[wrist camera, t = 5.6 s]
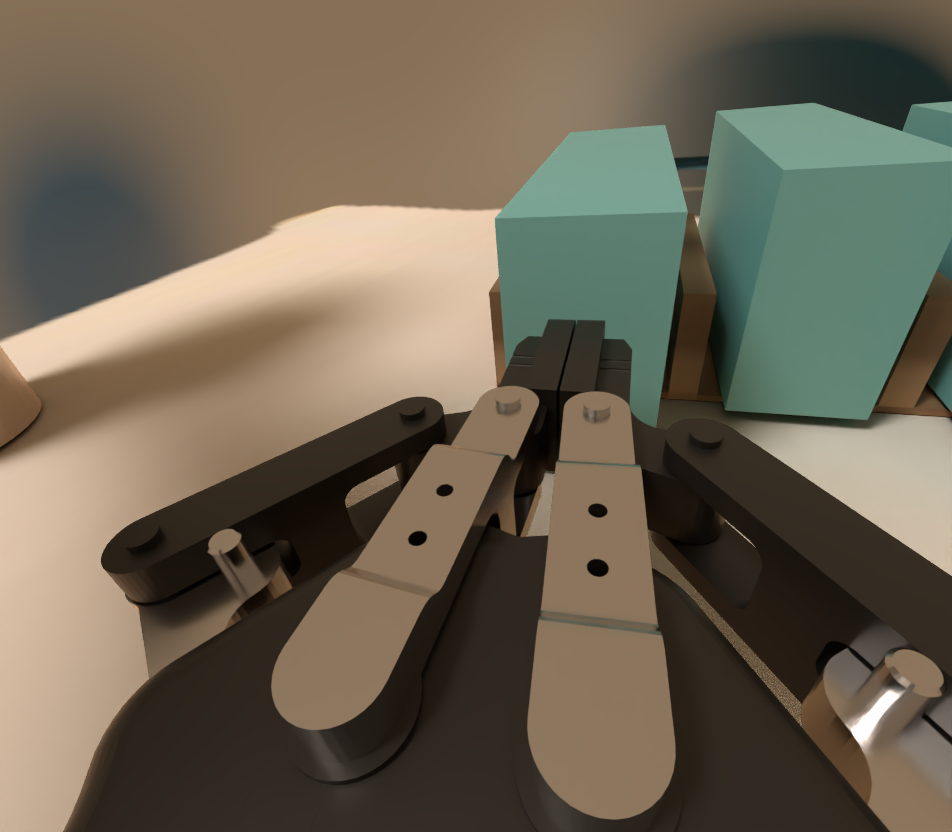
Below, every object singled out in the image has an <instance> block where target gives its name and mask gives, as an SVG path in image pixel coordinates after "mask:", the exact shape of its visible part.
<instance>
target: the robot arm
mask: <svg viewBox="0 0 952 832" xmlns="http://www.w3.org/2000/svg"><path fill="white" fill-rule="evenodd" d="M631 362H632V348H631V347H630V346H629V345H628V343H627V342H626V341H625V340H624V339H605V321H604V320H577V324H576V320H562V319H548V321H547V324H546V327H545V330H544V332H543V335H542V337H540V336H528V337H526V338H525V339H524V340H523V341H521V342H520V343H519V344H517V346H516V348H515V350H514V353H513V356H512V357H511V360H510V362H509V365H508V366H507V369H506V371H505V373H504V376H503V378H502V380H501V382H500V385H499V387H498V388H495V389H492V390H490V391H488V392H486V393H485V394H483V395H482V396H481V398H480V399H479V400H478V402H477V404H476V405H475V407H474V409H473V410H472V411H468V412H462V413H454V414H446V415H444V412H443V407H442V405H441V404H440V403H439V402H438V401H436V400H434V399H432V398H428V397H412V398H407V399H403V400H401V401H398V402H396V403H394V404H392V405H389V406H387V407H385V408H383V409H381V410H378V411H376V412H374V413H372V414H370V415H367V416H365V417H363V418H361V419H359V420H356V421H354V422H352V423H350V424H348V425H345V426H343V427H341V428H339V429H337V430H334V431H332V432H330V433H328V434H326V435H323V436H321V437H319V438H317V439H315V440H312V441H310V442H308V443H306V444H304V445H301V446H299V447H297V448H295V449H293V450H291V451H288V452H286V453H284V454H282V455H280V456H277V457H275V458H273V459H271V460H269V461H266V462H264V463H262V464H260V465H258V466H255V467H253V468H251V469H249V470H247V471H244V472H242V473H240V474H238V475H236V476H233V477H231V478H229V479H227V480H225V481H222V482H220V483H218V484H216V485H214V486H211V487H209V488H207V489H205V490H203V491H200V492H198V493H196V494H194V495H192V496H189V497H187V498H185V499H183V500H181V501H178V502H176V503H174V504H172V505H170V506H167V507H165V508H163V509H161V510H159V511H156V512H154V513H152V514H150V515H148V516H145V517H143V518H141V519H139V520H137V521H135V522H133V523H132V524H130V525H128V526H127V527H126V528H124V529H123V530H121V531H120V532H119V533H118V534H117V535H116V536H115V537H114V538H113V539H112V540H111V541H110V542H109V543H108V544H107V546H106V548H105V549H104V551H103V554H102V557H101V564H102V567H103V568H104V569H105V571H106V572H107V573H108V574H109V575H110V576H111V577H112V579H113V580H114V581H115V582H116V583H117V584H118V585H119V587H120V588H121V589H122V590H123V591H124V592H125V596H126V598H127V600H128V601H129V602H130V603H131V604H132V605H133V606H134V608H135V609H136V610H137V611H138V612H139V614H140V620H141V627H142V633H143V640H144V646H145V653H146V659H147V666H148V672H149V680H148V681H147V682H146V683H145V684H144V685H143V686H141V687H140V688H139V689H138V690H137V691H136V692H135V693H134V694H133V696H132V697H131V698H130V699H129V700H128V701H127V702H126V703H125V705H124V706H123V707H122V708H121V710H120V711H119V712H118V714H117V715H116V716H115V718H114V719H113V721H112V722H111V724H110V725H109V727H108V729H107V730H106V732H105V733H104V735H103V737H102V739H101V741H100V743H99V745H98V747H97V749H96V751H95V753H94V756H93V759H92V761H91V764H90V767H89V770H88V773H87V776H86V779H85V782H84V784H83V787H82V790H81V793H80V795H79V798H78V800H77V803H76V805H75V807H74V810H73V812H72V815H71V817H70V819H69V821H68V823H67V825H66V827H65V829H64V831H63V832H952V576H951V575H949V574H948V573H946V572H945V571H943V570H942V569H940V568H939V567H937V566H936V565H934V564H933V563H931V562H930V561H928V560H927V559H925V558H924V557H922V556H921V555H919V554H918V553H916V552H915V551H913V550H912V549H911V548H909V547H908V546H906V545H905V544H903V543H902V542H900V541H899V540H897V539H896V538H894V537H893V536H891V535H890V534H888V533H887V532H885V531H884V530H882V529H881V528H879V527H878V526H876V525H875V524H873V523H872V522H870V521H869V520H867V519H866V518H864V517H863V516H862V515H860V514H859V513H857V512H856V511H854V510H853V509H851V508H850V507H848V506H847V505H845V504H844V503H842V502H841V501H839V500H838V499H836V498H835V497H833V496H832V495H830V494H829V493H827V492H826V491H824V490H823V489H821V488H820V487H818V486H817V485H815V484H814V483H813V482H811V481H810V480H808V479H807V478H805V477H804V476H802V475H801V474H799V473H798V472H796V471H795V470H793V469H792V468H790V467H789V466H787V465H786V464H784V463H783V462H781V461H780V460H778V459H777V458H775V457H774V456H772V455H771V454H769V453H768V452H766V451H765V450H764V449H762V448H761V447H759V446H758V445H756V444H755V443H753V442H752V441H750V440H749V439H747V438H746V437H744V436H743V435H741V434H740V433H738V432H737V431H735V430H734V429H732V428H730V427H729V426H727V425H725V424H722V423H719V422H716V421H712V420H707V419H687V420H682V421H679V422H677V423H675V424H673V425H672V426H671V427H670V428H669V429H668V431H665V430H661V429H658V428H655V427H652V426H649V425H647V424H645V423H643V422H642V421H640V420H639V419H638V418H636V416H635V415H634V414H633V413H632V411H631V409H630V385H631V364H632V363H631ZM40 409H41V400H40V399H39V398H38V396H37V395H36V394H35V392H34V391H33V390H32V388H31V387H30V386H29V384H28V383H27V382H26V380H25V379H24V378H23V376H22V375H21V373H20V372H19V371H18V369H17V368H16V367H15V365H14V364H13V363H12V361H11V360H10V359H9V357H8V356H7V355H6V353H5V352H4V351H3V349H2V348H1V346H0V447H1V446H3V445H4V444H6V443H7V442H9V441H10V440H12V439H13V438H14V437H16V436H17V435H18V434H19V433H20V432H22V431H23V430H24V429H25V428H27V427H28V426H29V424H30V423H31V422H32V421H33V420H34V419H35V418H36V417H37V415H38V413H39V411H40ZM393 466H395V468H396V472H397V475H398V479H399V481H397V482H396V483H394V484H392V485H390V486H388V487H386V488H384V489H383V490H381V491H379V492H377V493H375V494H373V495H371V496H370V497H368V498H366V499H364V500H362V501H360V502H358V503H356V504H355V505H353V506H351V507H349V508H346V505H345V499H346V496H347V494H348V493H349V491H350V490H351V489H352V488H353V487H355V486H356V485H358V484H360V483H362V482H364V481H366V480H368V479H370V478H372V477H374V476H376V475H377V474H379V473H381V472H383V471H385V470H387V469H389V468H391V467H393ZM545 470H553V471H555V478H554V488H553V498H552V508H551V517H550V527H549V536H531V537H527V534H528V531H529V528H530V526H531V523H532V520H533V517H534V514H535V511H536V508H537V505H538V502H539V500H540V497H541V493H542V489H541V483H542V481H543V478H544V474H545ZM725 519H726V520H727V521H728V522H729V523H730V524H731V525H733V526H734V527H735V528H736V529H737V530H738V531H740V532H741V533H742V534H743V535H744V536H745V537H746V538H748V539H749V540H750V541H751V542H752V543H753V545H754V546H755V547H756V548H755V547H754V546H753V545H752V544H751V543H749V542H748V541H747V540H746V539H745V538H744V537H743V536H741V535H740V534H739V533H738V532H737V531H736V530H735V529H733V528H732V527H731V526H730V525H729V524H728V523H727V522H725ZM648 529H649V530H651V531H650V533H651V538H652V540H653V542H654V544H655V545H656V547H657V548H658V549H659V550H660V551H661V552H662V553H663V554H664V555H665V556H666V558H667V559H668V560H669V561H670V562H671V563H672V564H673V565H674V566H675V567H676V568H677V569H678V571H679V572H680V573H681V574H682V575H683V576H684V577H685V578H686V579H687V580H688V581H689V582H690V583H691V585H692V586H693V587H694V588H695V589H696V590H697V591H698V592H699V593H700V594H701V595H702V596H703V598H704V599H705V600H706V601H707V602H708V603H709V604H710V605H711V606H712V607H713V608H714V609H715V610H716V612H717V613H718V614H719V615H720V616H721V617H722V618H723V619H724V620H725V621H726V622H727V623H728V625H729V626H730V627H731V628H732V629H733V630H734V631H735V632H736V633H737V634H738V635H739V636H740V637H741V639H742V640H743V641H744V642H745V643H746V644H747V645H748V646H749V647H750V648H751V649H752V650H753V652H754V653H755V654H756V655H757V656H758V657H759V658H760V659H761V660H762V661H763V662H764V663H765V664H766V666H767V667H768V668H769V669H770V670H771V671H772V672H773V673H774V674H775V675H776V676H777V677H778V679H779V680H780V681H781V682H782V683H783V684H784V685H785V686H786V687H787V688H788V689H789V690H790V691H791V693H792V694H793V695H794V696H795V697H796V698H797V699H798V700H799V701H800V702H801V703H802V707H801V723H802V727H803V728H802V727H801V726H800V725H799V723H798V722H797V721H796V720H795V719H794V718H793V716H792V715H791V714H790V713H789V712H788V710H787V709H786V708H785V707H784V706H783V705H782V703H781V702H780V701H779V700H778V699H777V698H776V696H775V695H774V694H773V693H772V692H771V690H770V689H769V688H768V687H767V686H766V685H765V683H764V682H763V681H762V680H761V679H760V678H759V676H758V675H757V674H756V673H755V672H754V670H753V669H752V668H751V667H750V666H749V665H748V663H747V662H746V661H745V660H744V659H743V658H742V656H741V655H740V654H739V653H738V652H737V651H736V649H735V648H734V647H733V646H732V645H731V643H730V642H729V641H728V640H727V639H726V638H725V636H724V635H723V634H722V633H721V632H720V631H719V629H718V628H717V627H716V626H715V625H714V623H713V622H712V621H711V620H710V619H709V618H708V616H707V615H706V614H705V613H704V612H703V611H702V609H701V608H700V607H699V606H698V605H697V603H696V602H695V601H694V600H693V599H692V598H691V597H690V596H689V595H688V594H687V593H686V592H685V591H684V590H683V589H682V588H681V587H679V586H678V585H677V584H676V583H674V582H673V581H672V580H670V579H669V578H668V577H666V576H665V575H663V574H661V573H660V572H658V571H657V570H655V569H653V568H652V567H651V557H650V548H649V538H648Z"/></svg>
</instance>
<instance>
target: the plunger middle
mask: <svg viewBox="0 0 952 832" xmlns="http://www.w3.org/2000/svg"><path fill="white" fill-rule="evenodd" d="M698 231H699V234H700V238H701V241H702V245H703V248H704V251H705V255H706V258H707V262H708V265H709V268H710V272H711V275H712V279H713V282H714V285H715V289H716V292H717V297H716V302H715V307H714V312H713V317H712V322H711V327H710V332H709V340H710V345H711V349H712V354H713V358H714V363H715V367H716V372H717V376H718V381H719V385H720V390H721V394H722V399H723V404H724V408H725V410H729V411H744V412H758V413H773V414H787V415H802V416H817V417H831V418H846V419H860V420H868V418H869V416H870V414H871V412H872V410H873V407H874V405H875V403H876V401H877V399H878V397H879V394H880V392H881V390H882V388H883V386H884V384H885V381H886V379H887V377H888V375H889V373H890V371H891V368H892V366H893V364H894V362H895V360H896V358H897V355H898V353H899V351H900V349H901V347H902V345H903V342H904V340H905V338H906V336H907V334H908V331H909V329H910V327H911V325H912V323H913V321H914V318H915V316H916V314H917V312H918V310H919V308H920V305H921V303H922V301H923V299H924V297H925V295H926V292H927V290H928V288H929V286H930V284H931V282H932V279H933V277H934V275H935V273H936V271H937V269H938V266H939V264H940V262H941V260H942V258H943V255H944V253H945V251H946V249H947V247H948V245H949V242H950V240H951V238H952V147H949V146H946V145H943V144H940V143H936V142H933V141H930V140H927V139H924V138H921V137H918V136H915V135H912V134H909V133H906V132H902V131H899V130H896V129H893V128H890V127H887V126H884V125H881V124H878V123H875V122H871V121H868V120H865V119H862V118H859V117H856V116H852V115H850V114H847V113H844V112H841V111H837V110H834V109H831V108H828V107H825V106H822V105H819V104H816V103H807V104H795V105H784V106H772V107H760V108H749V109H737V110H726V111H717V112H716V118H715V125H714V131H713V137H712V144H711V149H710V155H709V162H708V168H707V174H706V181H705V186H704V193H703V200H702V205H701V211H700V217H699V224H698Z"/></svg>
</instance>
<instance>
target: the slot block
mask: <svg viewBox="0 0 952 832" xmlns="http://www.w3.org/2000/svg"><path fill="white" fill-rule="evenodd" d="M489 297H490V308H491V320H492V331H493V342H494V354H495V365H496V377H497V388H498V387H499V385H500V382H501V380H502V378H503V376H504V373H505V371H506V363H505V350H504V336H503V323H502V309H501V295H500V282H499V277H498V279H497V281H496V282H495V284H494V285H493V287H492V288H491V290H490V292H489ZM716 297H717V292H716V289H715V285H714V282H713V279H712V275H711V272H710V268H709V265H708V262H707V258H706V255H705V251H704V248H703V245H702V241H701V238H700V234H699V231H698V228H697V224H696V221H695V217H694V214H687V220H686V227H685V234H684V240H683V247H682V254H681V261H680V268H679V275H678V281H677V288H676V295H675V302H674V309H673V316H672V322H671V329H670V336H669V343H668V350H667V356H666V363H665V370H664V377H663V384H662V391H661V397H660V398H667V399H683V400H698V401H714V402H723V399H722V394H721V390H720V385H719V381H718V376H717V372H716V367H715V363H714V358H713V354H712V349H711V345H710V340H709V332H710V327H711V322H712V317H713V312H714V307H715V302H716ZM951 335H952V281H950V280H949V279H948V278H946V277H945V276H944V275H943V274H941V273H940V272H939V271H936V273H935V275H934V277H933V279H932V282H931V284H930V286H929V288H928V290H927V292H926V295H925V297H924V299H923V301H922V303H921V305H920V308H919V310H918V312H917V314H916V316H915V318H914V321H913V323H912V325H911V327H910V329H909V331H908V334H907V336H906V338H905V340H904V342H903V345H902V347H901V349H900V351H899V353H898V355H897V358H896V360H895V362H894V364H893V366H892V368H891V371H890V373H889V375H888V377H887V379H886V381H885V384H884V386H883V388H882V390H881V392H880V394H879V397H878V399H877V401H876V403H875V405H874V407H873V410H872V412H884V413H899V414H915V415H930V416H946V417H952V412H951V411H950V409H949V408H948V407H947V406H946V405H945V404H944V402H943V401H942V400H941V399H940V398H939V396H938V395H937V394H936V393H935V392H934V390H933V389H932V388H931V387H930V386H929V385H928V383H927V381H928V379H929V377H930V375H931V373H932V372H933V370H934V368H935V366H936V364H937V362H938V360H939V358H940V356H941V354H942V352H943V350H944V348H945V347H946V345H947V343H948V341H949V339H950V337H951Z"/></svg>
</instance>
